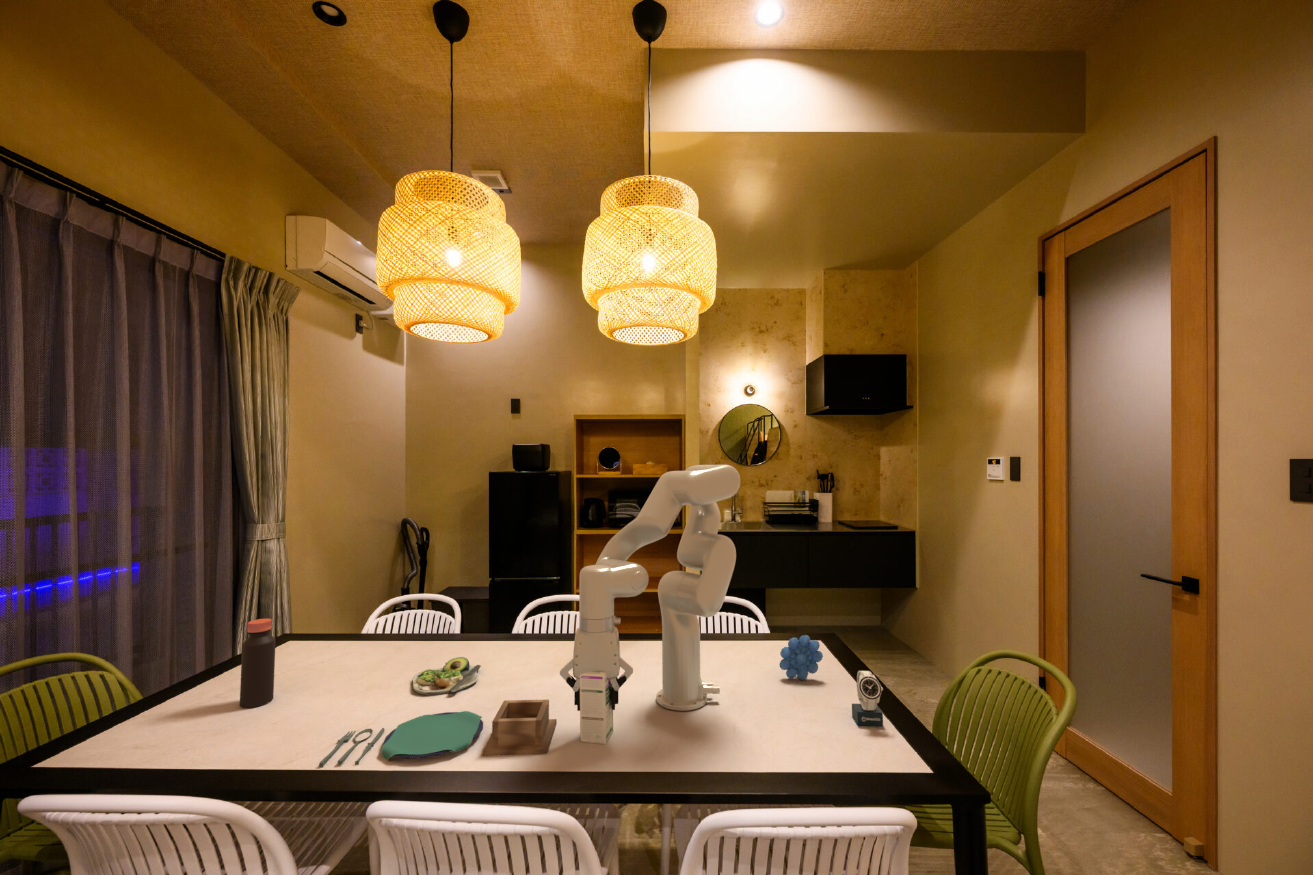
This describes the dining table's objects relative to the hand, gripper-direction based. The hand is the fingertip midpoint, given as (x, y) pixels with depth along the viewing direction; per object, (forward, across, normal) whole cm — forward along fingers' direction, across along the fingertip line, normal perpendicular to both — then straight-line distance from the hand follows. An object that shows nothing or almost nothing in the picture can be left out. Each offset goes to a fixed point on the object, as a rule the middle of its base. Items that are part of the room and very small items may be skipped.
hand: (596, 706), depth 115 cm
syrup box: (+6, 0, 0) cm, 6 cm away
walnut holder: (+6, +16, 0) cm, 17 cm away
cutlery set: (+7, +40, 0) cm, 40 cm away
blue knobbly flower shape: (+6, -54, -29) cm, 62 cm away
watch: (+6, -61, -3) cm, 61 cm away
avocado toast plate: (+7, +43, -33) cm, 55 cm away
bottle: (+6, +86, -22) cm, 89 cm away
